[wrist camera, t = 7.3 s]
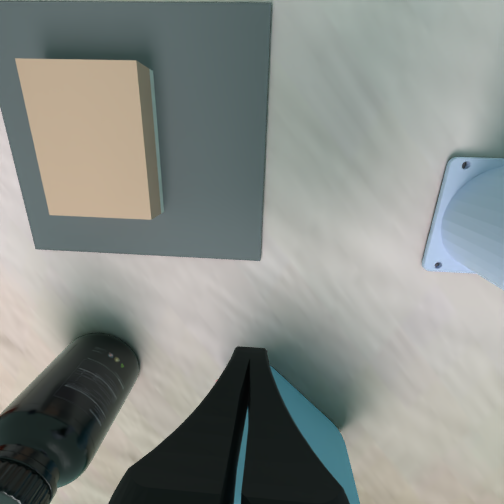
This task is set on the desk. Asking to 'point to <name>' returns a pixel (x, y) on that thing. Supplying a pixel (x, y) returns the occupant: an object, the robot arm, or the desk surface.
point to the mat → (158, 119)
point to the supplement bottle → (63, 418)
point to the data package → (309, 439)
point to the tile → (94, 136)
